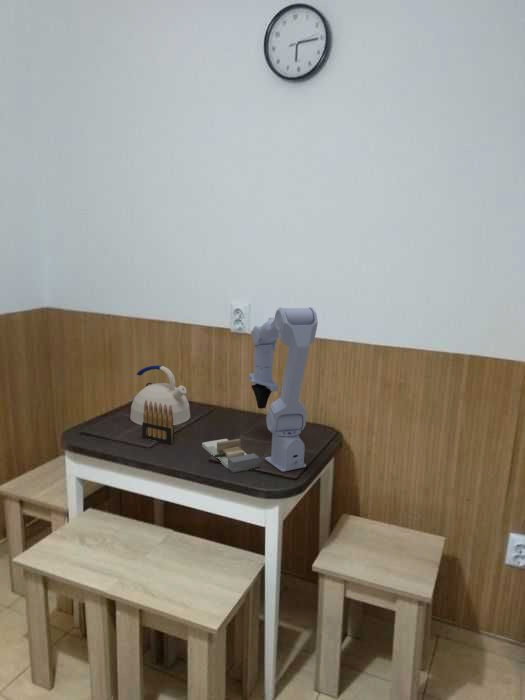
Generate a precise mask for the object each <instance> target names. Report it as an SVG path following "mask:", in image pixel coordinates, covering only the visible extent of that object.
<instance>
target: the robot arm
mask: <svg viewBox="0 0 525 700" xmlns="http://www.w3.org/2000/svg"><path fill="white" fill-rule="evenodd" d="M318 323H319V322H318V316H317V312H316V310H315V309H314V308H313V307H300V308H299V307H293V308H291V307H288V308H287V307H284V308H283V307H279V308H277V310H276V312H275V315H274V317H269V318H268V320H266V322H265V323H263V325H261V326H258V325H254V327H253V329H252V334H251V335H252V336H251V337H252V339H251V340H252V343H253V345H254V356H253V357H254V358H253V359H254V360H253V373H248V381H250V383H252V385H251V390H253V392H254V396H255V397H254V398H255V400H256V405H257V408H258V409H260V410H261V409H266V407H267V404H268V401H269V398H270V396H271V394H272V392H278V391H279V389H278V388H279V384H277V383H276V382H275V381H274V380H273V371H274V369H273V367H274V352H275V351H276V345H277V341H278V338H279V339H280V342H281V344H284V345H285V346H287V347H288V351H287V356H286V362H285V368H284V374H283V379H282V383H281V384H282V385H281V389H280V390H281V391H280V394H279V395H280V396H279V398H278V399H276V400H275V401H273V402H271V403H270V406H269V409H268V411H267V414H266V418H265V419H266V426H267V429H268V431H270V433H272V434H271V435H272V436H271V452H270V453H271V454H270V456H267V457H266V456H265V457H264V460H265V461H267V462H268V463H269V464H270V465H272V466H273V467H275V468H276V469H278V470H279V471H280V472H288V471H293V470H297V469H302V468H306V467H307V465H306V463H305V452H306V451H305V448H306V447H305V446H306V445H305V443H304V441H303V440H302V439H301V438H300V436H299V435H300V434H301V432H302V431H303V430H304V428H305V426H306V424H307V417H306V416H307V410H306V406H305V405H304V403H303V402H301V400H299V398H300V394H301V390H302V386H303V385H302V384H303V379H304V373H305V371H306V370H305V369H306V365H307V359H308V354H309V349H310V345H311V344H313V343H314V341H315V338H316V334H317V329H318Z"/></svg>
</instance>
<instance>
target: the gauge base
mask: <svg viewBox="0 0 525 700" xmlns="http://www.w3.org/2000/svg"><path fill="white" fill-rule="evenodd" d="M228 440H229V439H228V438H223V439H216V440H210V441H205V442H204V441H203V442H202V443H201V447H202V448H203V449H204V450H205V451H206V452H207V453H209V454H210V455H211V456H212V455H213V456H212V457H214V456H215V455H216V454H218V453H217V442H223V441H228ZM216 458H218V459H219V460H220V461H221V462H220V463H221V464H222V465H223V466H224V467H225V468H226V469H227V470H229V471H230V472H231V473H232V474H235V473H239V472H245V471H248V470H249V469H250V470H252V469H251V468H255V467H259V468H260V456H259V455H258V454H256V453H246V452H245V451H244V455H242V456H237V457H232V458H227V457H226V456H222V457H216ZM216 458H215V459H216ZM255 469H256V468H255ZM250 470H249V471H250Z"/></svg>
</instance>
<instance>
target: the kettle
mask: <svg viewBox="0 0 525 700" xmlns="http://www.w3.org/2000/svg"><path fill="white" fill-rule="evenodd" d="M151 370H159V371H163V373H165V374H166V376H167V378H168V381H169V382H168V383H166V382H156V383H152V382H148V383H146V384H145V387H144V388H142V389H141V390H140V391H139V392H138V393H137V394H136V395H135V397H134V399H133V401H132V403H131V406H130V417H129V418H130V421H131V422H133V423H134V424H137V425H139V426H142V423H143V414H144V404H145V401H146V400H147V403H148V412H149V404H150V401H151V402H152V405H153V411H154V404H155V402H156V403H157V408H158V409H159V404H160V403H161V405H162V412H163V410H164V405H165V404H166V406H167V413H168V411H169V406H170V405H171V407H172V414H173V425H174V426H177V425H181V424H184V423H186V422H187V421H189V420H190V418H191V410H190V403H189V401H188V398H187V396H186V394H187V388H186V387H185V386H184V385H179V386H178V387H176V379H175V378H176V377H175V375H174V373H173V372H172V371H171V370H170V369H169V368H168V367H166V366H163V365H150V366H146V367H143V368H141V369H140V370H138V372H137V373H136V375H137V376H142V375H143V374H144V373H146V372H148V371H151Z"/></svg>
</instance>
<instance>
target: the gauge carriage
mask: <svg viewBox="0 0 525 700" xmlns="http://www.w3.org/2000/svg"><path fill="white" fill-rule="evenodd" d="M244 452H245V451H244V450H243V449H242V440H241V439H240V438H236V439H230V440H229V439H228V441H223V442H217V453H218V454H216V455H215V457H222V456H226V457H227V458H232V457H237V456H242V455H244ZM215 457H214V458H215Z"/></svg>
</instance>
